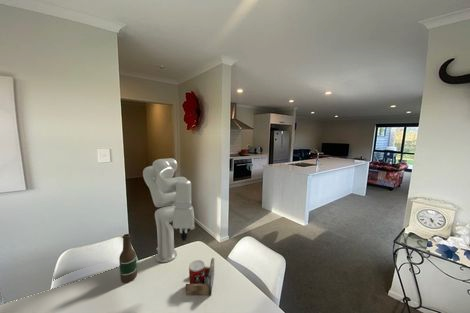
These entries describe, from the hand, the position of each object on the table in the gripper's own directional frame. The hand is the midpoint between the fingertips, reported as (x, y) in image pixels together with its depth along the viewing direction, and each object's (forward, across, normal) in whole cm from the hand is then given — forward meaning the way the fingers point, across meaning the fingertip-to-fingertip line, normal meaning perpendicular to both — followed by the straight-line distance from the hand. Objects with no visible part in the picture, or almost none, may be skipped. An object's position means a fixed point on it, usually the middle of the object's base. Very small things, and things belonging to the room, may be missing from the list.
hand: (184, 239), depth 99 cm
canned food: (+23, +7, -4) cm, 24 cm away
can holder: (+22, +8, -3) cm, 24 cm away
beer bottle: (+23, -30, 0) cm, 38 cm away
